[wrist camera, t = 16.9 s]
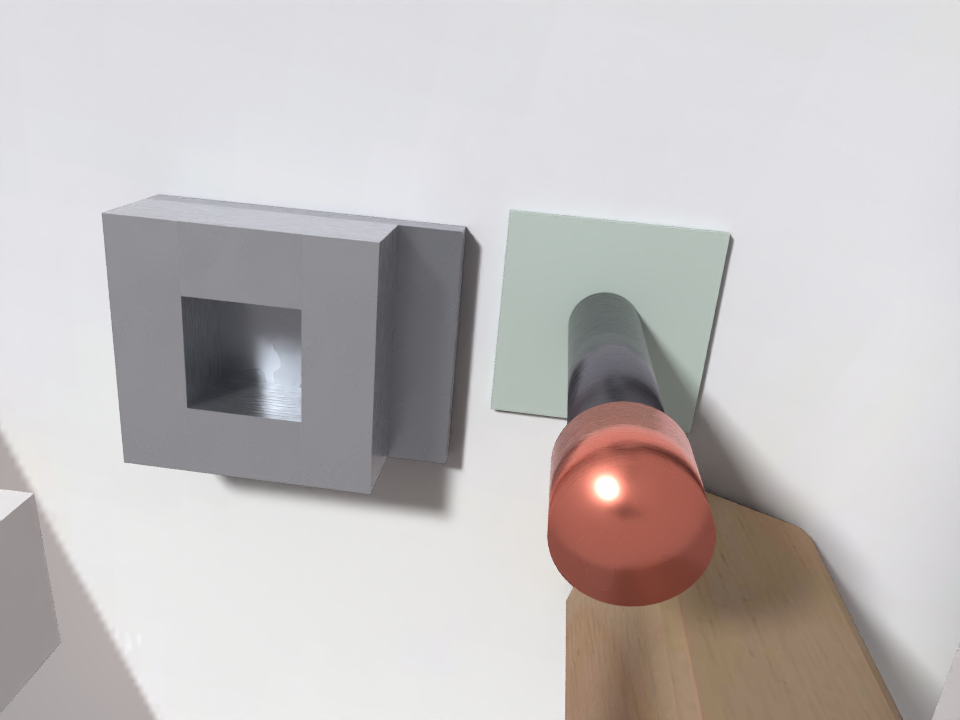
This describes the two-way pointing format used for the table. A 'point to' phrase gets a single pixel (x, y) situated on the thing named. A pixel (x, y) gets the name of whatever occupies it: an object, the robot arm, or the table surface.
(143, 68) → the table surface
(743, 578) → the wooden block
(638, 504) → the red capped rod
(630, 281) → the mat
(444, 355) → the grey hollow block
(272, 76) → the table surface
